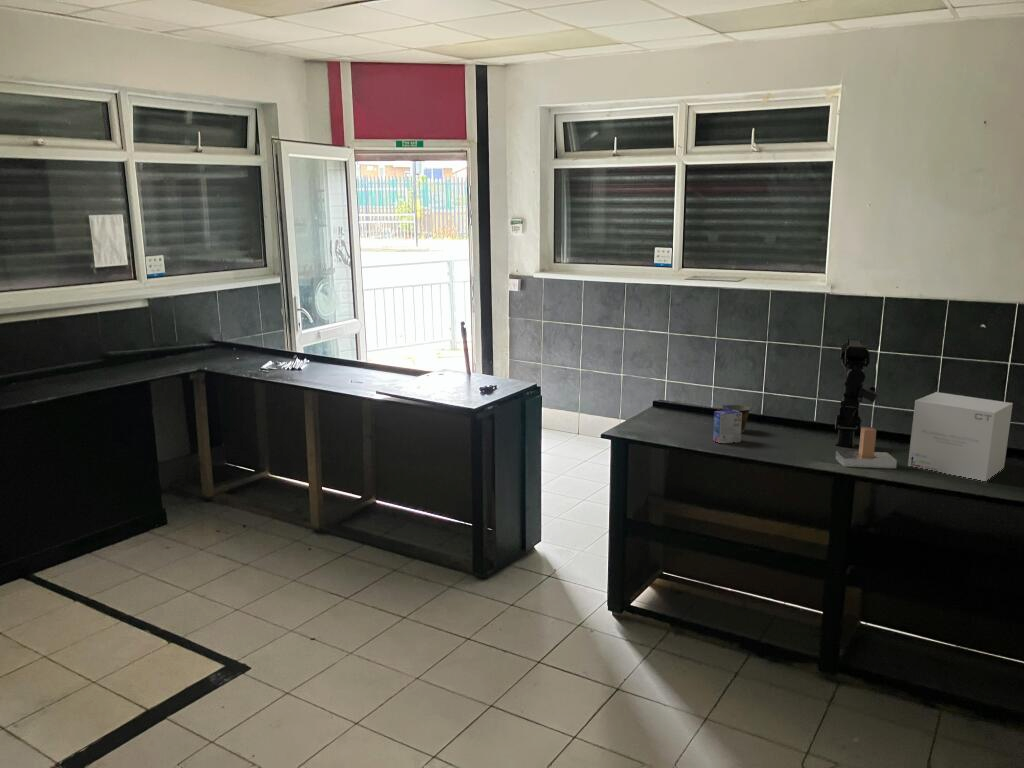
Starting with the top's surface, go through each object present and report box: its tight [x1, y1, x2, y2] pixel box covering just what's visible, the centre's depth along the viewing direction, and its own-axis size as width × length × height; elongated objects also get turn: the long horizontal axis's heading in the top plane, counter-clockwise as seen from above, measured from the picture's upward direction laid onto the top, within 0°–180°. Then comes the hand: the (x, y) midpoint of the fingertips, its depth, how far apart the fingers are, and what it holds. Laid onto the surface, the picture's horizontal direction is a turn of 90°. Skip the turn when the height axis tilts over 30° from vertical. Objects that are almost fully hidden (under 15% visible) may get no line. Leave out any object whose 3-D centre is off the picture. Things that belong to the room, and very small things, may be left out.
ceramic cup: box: [716, 404, 750, 433], centre depth 333 cm, size 13×10×10 cm
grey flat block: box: [835, 450, 898, 470], centre depth 289 cm, size 10×18×3 cm, turn 84°
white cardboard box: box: [907, 391, 1014, 482], centre depth 283 cm, size 25×21×24 cm
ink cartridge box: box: [712, 404, 742, 444], centre depth 316 cm, size 10×6×14 cm, turn 106°
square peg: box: [858, 426, 877, 458], centre depth 288 cm, size 4×4×13 cm
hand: (850, 420), depth 298 cm, fingers open, 9 cm apart
